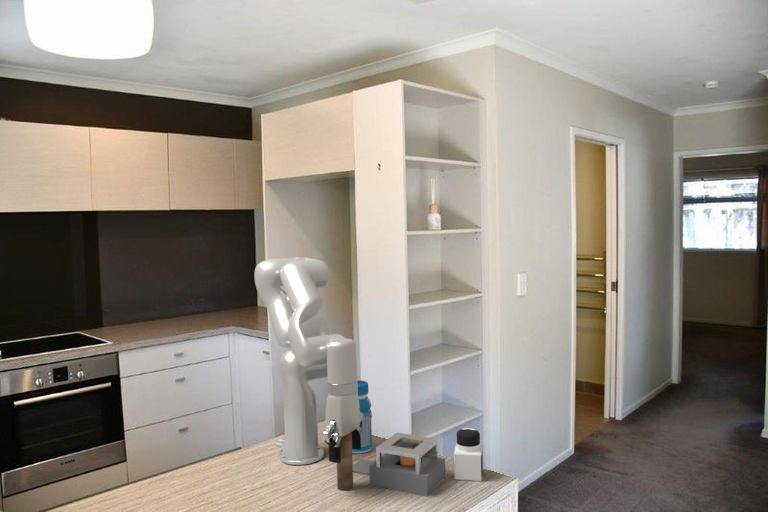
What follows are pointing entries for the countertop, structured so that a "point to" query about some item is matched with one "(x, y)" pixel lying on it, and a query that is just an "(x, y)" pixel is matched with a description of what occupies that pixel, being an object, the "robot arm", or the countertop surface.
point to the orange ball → (407, 460)
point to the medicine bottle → (468, 456)
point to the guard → (400, 441)
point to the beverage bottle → (364, 418)
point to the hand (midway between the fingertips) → (345, 455)
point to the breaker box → (408, 475)
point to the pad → (362, 466)
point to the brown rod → (345, 464)
